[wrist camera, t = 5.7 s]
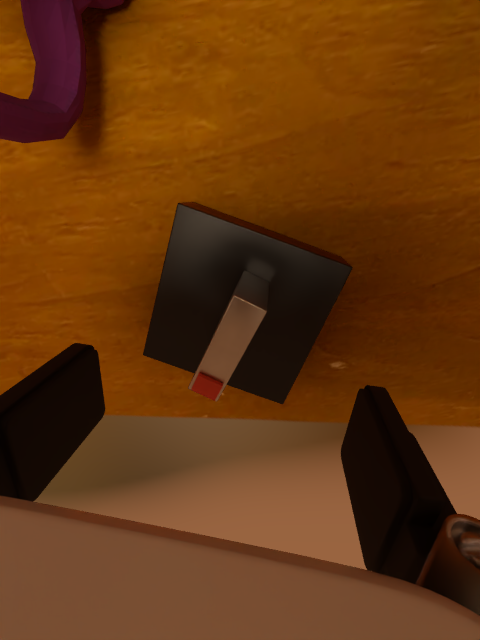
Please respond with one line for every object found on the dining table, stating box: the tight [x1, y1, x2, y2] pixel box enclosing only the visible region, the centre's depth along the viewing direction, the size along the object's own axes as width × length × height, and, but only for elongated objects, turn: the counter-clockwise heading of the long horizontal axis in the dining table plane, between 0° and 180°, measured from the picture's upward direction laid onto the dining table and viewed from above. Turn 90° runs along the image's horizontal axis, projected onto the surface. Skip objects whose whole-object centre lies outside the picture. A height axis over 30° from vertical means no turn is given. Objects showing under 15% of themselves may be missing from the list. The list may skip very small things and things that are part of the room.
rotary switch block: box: [143, 202, 353, 404], centre depth 19 cm, size 10×10×3 cm
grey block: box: [188, 271, 269, 401], centre depth 15 cm, size 6×2×5 cm, turn 155°
